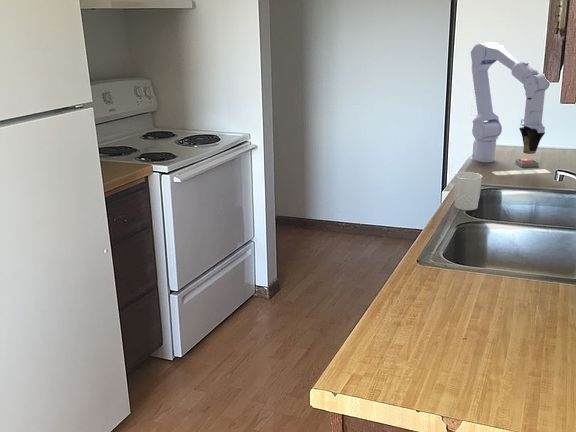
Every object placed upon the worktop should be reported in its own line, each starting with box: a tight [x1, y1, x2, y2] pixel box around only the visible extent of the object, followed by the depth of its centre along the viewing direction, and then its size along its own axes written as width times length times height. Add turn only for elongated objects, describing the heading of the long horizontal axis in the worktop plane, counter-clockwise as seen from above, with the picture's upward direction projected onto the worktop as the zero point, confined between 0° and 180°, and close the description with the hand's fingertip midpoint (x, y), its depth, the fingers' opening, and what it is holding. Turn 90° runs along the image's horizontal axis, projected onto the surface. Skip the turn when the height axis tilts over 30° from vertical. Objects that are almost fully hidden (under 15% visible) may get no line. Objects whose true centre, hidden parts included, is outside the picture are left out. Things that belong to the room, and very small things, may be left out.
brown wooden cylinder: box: [523, 136, 537, 155], centre depth 215 cm, size 4×4×6 cm
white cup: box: [454, 171, 483, 211], centre depth 186 cm, size 8×8×10 cm
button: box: [520, 157, 535, 163], centre depth 227 cm, size 4×4×2 cm
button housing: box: [515, 158, 539, 168], centre depth 227 cm, size 6×6×2 cm
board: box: [491, 168, 552, 176], centre depth 219 cm, size 10×20×1 cm, turn 93°
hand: (530, 149), depth 216 cm, fingers closed on brown wooden cylinder, 4 cm apart
